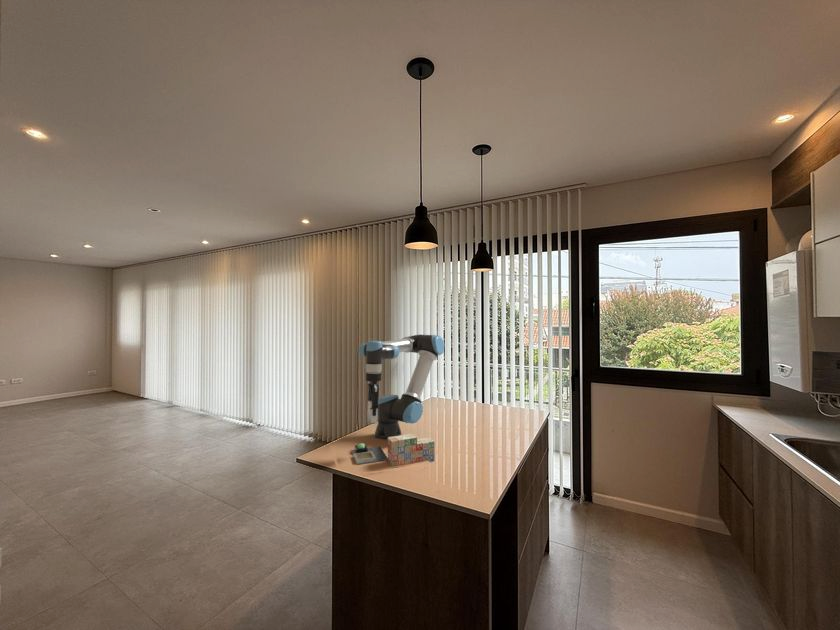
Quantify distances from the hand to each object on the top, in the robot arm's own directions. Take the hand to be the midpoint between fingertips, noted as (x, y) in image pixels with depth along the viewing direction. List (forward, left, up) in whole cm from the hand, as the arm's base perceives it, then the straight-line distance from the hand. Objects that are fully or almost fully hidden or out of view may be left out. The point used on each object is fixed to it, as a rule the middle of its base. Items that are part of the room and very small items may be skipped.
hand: (372, 420), depth 164 cm
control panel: (+1, 0, -17) cm, 17 cm away
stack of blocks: (-16, +12, -18) cm, 27 cm away
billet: (0, 0, -1) cm, 1 cm away
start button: (+4, -6, -16) cm, 17 cm away
